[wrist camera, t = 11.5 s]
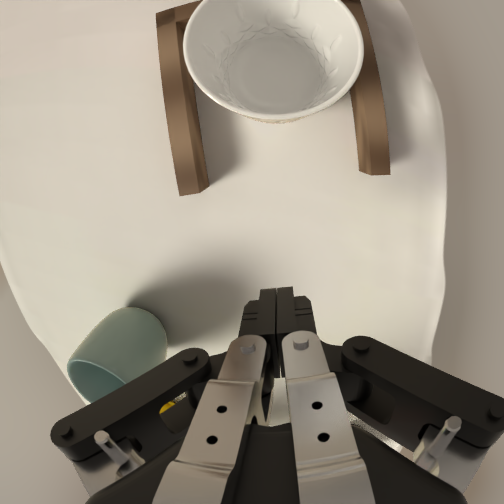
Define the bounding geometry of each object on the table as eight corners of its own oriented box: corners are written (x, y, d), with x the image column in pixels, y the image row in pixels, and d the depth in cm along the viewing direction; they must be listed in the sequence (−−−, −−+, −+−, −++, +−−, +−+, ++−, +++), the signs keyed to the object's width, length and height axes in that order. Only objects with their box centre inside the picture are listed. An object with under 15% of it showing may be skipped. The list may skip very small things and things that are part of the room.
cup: (106, 291, 27) (53, 349, 17) (171, 299, 26) (129, 371, 17) (121, 346, 29) (84, 406, 20) (181, 357, 29) (153, 427, 20)
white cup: (338, 117, 19) (388, 99, 9) (241, 143, 20) (213, 144, 11) (305, 30, 16) (324, -36, 7) (210, 57, 18) (164, 4, 8)
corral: (376, 170, 20) (390, 174, 17) (191, 189, 22) (179, 196, 19) (347, 4, 14) (356, -11, 12) (169, 25, 16) (155, 13, 14)
